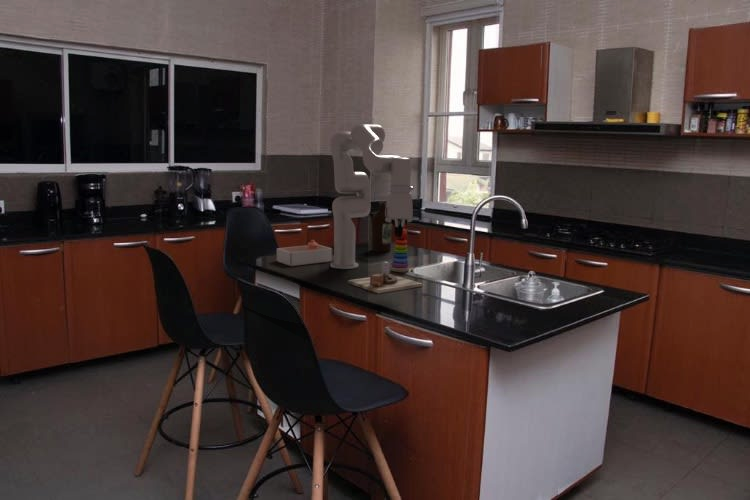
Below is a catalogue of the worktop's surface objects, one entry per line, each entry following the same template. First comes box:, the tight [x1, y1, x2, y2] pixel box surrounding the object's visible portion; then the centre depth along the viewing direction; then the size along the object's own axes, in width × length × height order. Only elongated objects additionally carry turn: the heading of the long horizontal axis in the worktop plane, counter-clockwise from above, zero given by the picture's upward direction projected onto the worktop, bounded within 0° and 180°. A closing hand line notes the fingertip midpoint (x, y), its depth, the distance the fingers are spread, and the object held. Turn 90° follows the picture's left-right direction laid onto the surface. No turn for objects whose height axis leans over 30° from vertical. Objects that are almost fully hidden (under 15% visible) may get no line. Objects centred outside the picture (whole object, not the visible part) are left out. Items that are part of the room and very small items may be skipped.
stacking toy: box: [390, 228, 410, 273], centre depth 290 cm, size 8×8×19 cm
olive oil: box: [371, 201, 393, 253], centre depth 337 cm, size 11×11×25 cm
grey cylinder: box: [369, 261, 390, 285], centre depth 261 cm, size 3×10×8 cm, turn 127°
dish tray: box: [276, 244, 333, 267], centre depth 308 cm, size 13×22×6 cm, turn 127°
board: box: [347, 273, 423, 294], centre depth 264 cm, size 20×22×1 cm
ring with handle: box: [371, 273, 397, 287], centre depth 261 cm, size 15×9×4 cm, turn 157°
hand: (398, 236), depth 258 cm, fingers closed
